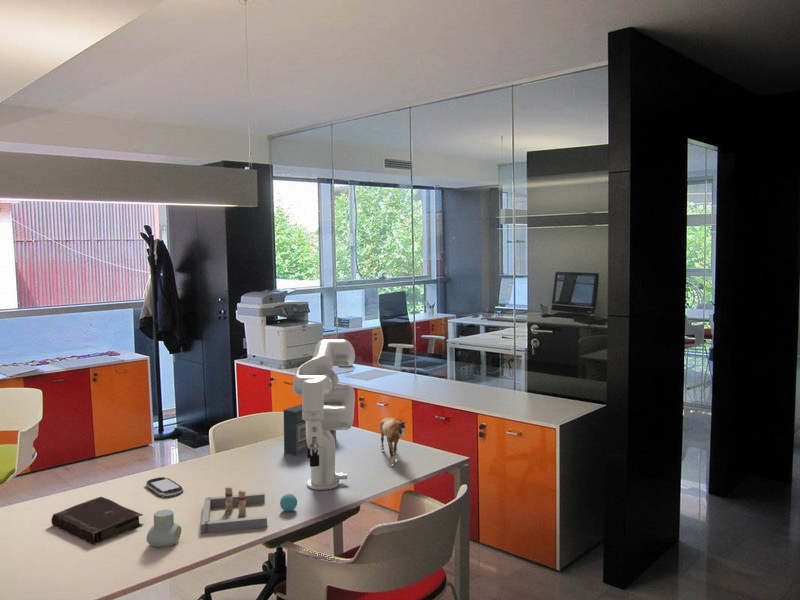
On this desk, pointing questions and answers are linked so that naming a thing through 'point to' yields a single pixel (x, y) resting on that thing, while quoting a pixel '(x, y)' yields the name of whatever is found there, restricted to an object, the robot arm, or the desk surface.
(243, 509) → the front pin
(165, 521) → the air freshener
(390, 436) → the horse figurine
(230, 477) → the desk surface
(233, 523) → the pin pen
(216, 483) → the desk surface
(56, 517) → the diary
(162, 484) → the gaming console
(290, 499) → the ball
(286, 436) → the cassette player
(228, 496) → the back pin
